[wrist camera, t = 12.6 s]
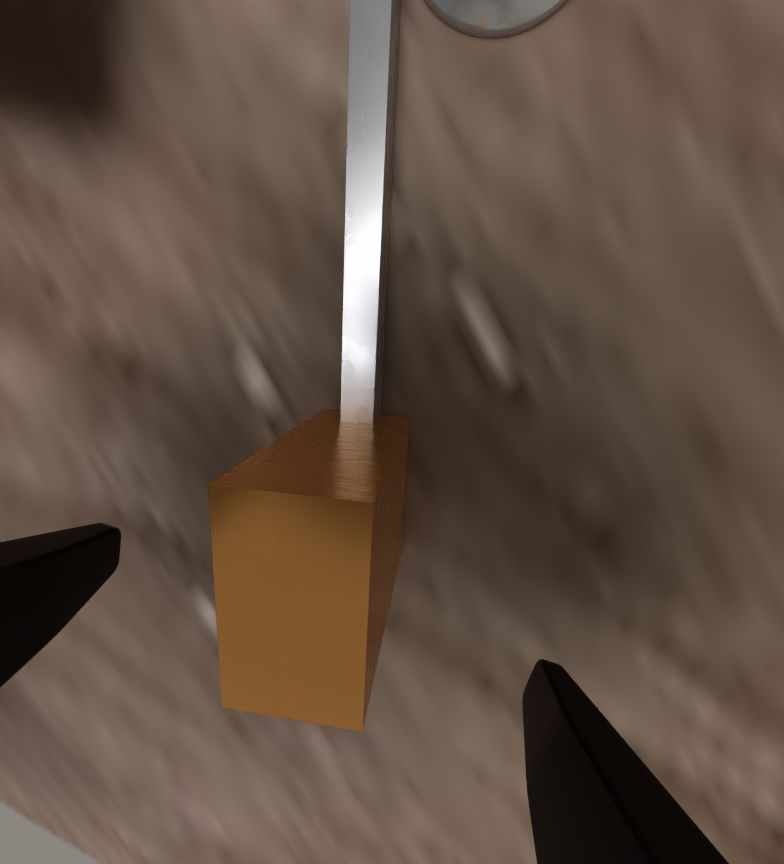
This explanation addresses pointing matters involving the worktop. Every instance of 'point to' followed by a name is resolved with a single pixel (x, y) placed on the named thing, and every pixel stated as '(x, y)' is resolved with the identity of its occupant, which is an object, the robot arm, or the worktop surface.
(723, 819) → the worktop surface
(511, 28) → the grey flat round piece
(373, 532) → the blade tool
